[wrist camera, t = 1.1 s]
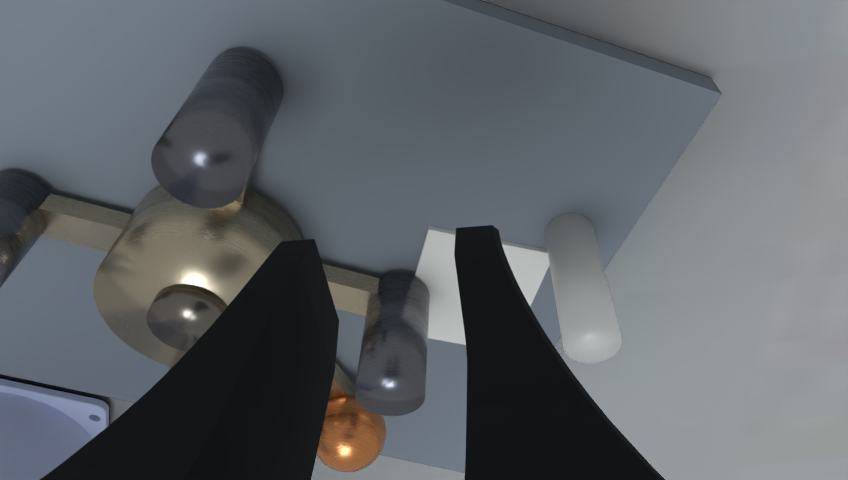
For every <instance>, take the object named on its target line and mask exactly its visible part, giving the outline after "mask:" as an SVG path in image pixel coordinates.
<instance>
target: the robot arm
mask: <svg viewBox="0 0 848 480" xmlns="http://www.w3.org/2000/svg"><path fill="white" fill-rule="evenodd" d="M454 257H455V264H456V272H457V279H458V287H459V294H460V302H461V310H462V317H463V325H464V332H465V340H466V352H467V414H466V459H465V480H665V479H664V478H663V477H662V476H661V475H660V474H659V473H658V472H657V471H656V470H655V469H654V468H653V467H652V466H651V465H650V464H649V463H648V462H647V460H646V459H645V458H644V457H643V456H642V455H641V454H640V453H639V452H638V451H637V450H636V449H635V447H634V446H633V445H632V444H631V443H630V442H629V441H628V440H627V439H626V438H625V437H624V435H623V434H622V433H621V432H620V431H619V430H618V429H617V428H616V427H615V426H614V425H613V423H612V422H611V421H610V420H609V419H608V418H607V416H606V415H605V414H604V413H603V411H602V410H601V409H600V408H599V407H598V405H597V404H596V403H595V402H594V400H593V399H592V398H591V397H590V396H589V394H588V393H587V392H586V390H585V389H584V388H583V386H582V385H581V384H580V382H579V381H578V380H577V379H576V377H575V376H574V375H573V373H572V372H571V370H570V369H569V368H568V366H567V365H566V363H565V362H564V360H563V359H562V358H561V356H560V355H559V353H558V352H557V350H556V349H555V347H554V346H553V344H552V342H551V341H550V339H549V338H548V336H547V335H546V333H545V332H544V330H543V328H542V327H541V325H540V323H539V322H538V320H537V318H536V317H535V315H534V313H533V311H532V309H531V307H530V306H529V304H528V302H527V300H526V298H525V296H524V295H523V293H522V291H521V289H520V287H519V285H518V283H517V281H516V279H515V277H514V274H513V272H512V270H511V267H510V265H509V263H508V260H507V258H506V255H505V252H504V249H503V246H502V243H501V239H500V234H499V230H498V229H497V228H495V227H494V226H493V225H487V226H474V227H461V228H456V235H455V250H454ZM338 329H339V319H338V315H337V312H336V309H335V305H334V302H333V299H332V295H331V292H330V289H329V285H328V282H327V279H326V275H325V272H324V269H323V265H322V262H321V259H320V255H319V252H318V249H317V245H316V242H315V239H307V240H294V241H281V242H280V243H279V245H278V246H277V247H276V248H275V249H274V250H273V252H272V253H271V254H270V255H269V256H268V258H267V259H266V260H265V261H264V263H263V264H262V265H261V266H260V267H259V269H258V270H257V271H256V272H255V274H254V275H253V276H252V277H251V279H250V280H249V281H248V282H247V283H246V285H245V286H244V287H243V288H242V290H241V291H240V292H239V293H238V295H237V296H236V297H235V298H234V299H233V301H232V302H231V303H230V304H229V305H228V306H227V308H226V309H225V310H224V311H223V312H222V313H221V315H220V316H219V317H218V318H217V319H216V321H215V322H214V323H213V324H212V325H211V326H210V328H209V329H208V330H207V331H206V332H205V333H204V334H203V335H202V336H201V337H200V338H199V340H198V341H197V342H196V343H195V344H194V345H193V346H192V347H191V348H190V349H189V350H188V351H187V352H186V353H185V355H184V356H183V357H182V358H181V359H180V360H179V361H178V362H177V363H176V364H175V365H174V366H173V367H172V368H171V369H170V370H169V371H168V372H167V373H166V374H165V375H164V376H163V377H162V378H161V379H160V380H159V381H158V382H157V383H156V384H155V385H154V386H153V387H152V388H151V389H150V390H149V391H148V392H147V393H145V394H144V395H143V396H142V397H141V398H140V399H139V400H138V401H137V402H136V403H134V404H133V405H132V406H131V407H130V408H129V409H128V410H127V411H126V412H124V413H123V414H122V415H121V416H120V417H119V418H118V419H116V420H115V421H114V422H113V423H112V424H110V425H109V406H108V404H107V403H106V402H104V401H102V400H99V399H95V398H91V397H86V396H81V395H77V394H72V393H67V392H62V391H58V390H53V389H48V388H43V387H39V386H34V385H29V384H25V383H20V382H15V381H10V380H6V379H1V378H0V480H311V476H312V472H313V467H314V463H315V458H316V454H317V450H318V445H319V441H320V436H321V432H322V427H323V423H324V419H325V414H326V410H327V405H328V401H329V396H330V391H331V387H332V382H333V377H334V373H335V363H336V353H337V342H338Z"/></svg>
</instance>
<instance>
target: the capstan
mask: <svg viewBox="0 0 848 480" xmlns="http://www.w3.org/2000/svg"><path fill="white" fill-rule="evenodd" d="M283 95H284V88H283V83H282V79H281V77H280V75H279V73H278V72H277V70H276V69H275V68H274V66H273V65H272V64H271V63H270V62H269V61H267V60H266V59H265V58H263V57H262V56H260V55H258V54H256V53H253V52H251V51H247V50H230V51H226V52H224V53H221V54H220V55H218V56H217V57H216V58H215V59H214V60H213V61H212V62H211V64H210V65H209V66H208V68H207V69H206V71H205V72H204V74H203V75H202V77H201V78H200V80H199V81H198V83H197V84H196V86H195V87H194V88H193V90H192V91H191V93H190V94H189V96H188V97H187V99H186V100H185V102H184V103H183V105H182V106H181V108H180V109H179V111H178V112H177V113H176V115H175V116H174V118H173V119H172V121H171V122H170V124H169V125H168V127H167V128H166V130H165V131H164V133H163V134H162V136H161V137H160V138H159V140H158V141H157V143H156V144H155V146H154V148H153V151H152V155H151V165H152V169H153V172H154V175H155V177H156V179H157V180H158V182H159V183H160V184H161V186H160V187H158V188H156V189H154V190H153V191H151V192H150V193H149V194H148V195H146V196H145V197H144V198H143V200H142V201H141V202H140V203H139V204H138V206H137V208H136V209H135V211H134V212H133V214H128V213H125V212H121V211H117V210H113V209H109V208H105V207H101V206H97V205H94V204H90V203H86V202H82V201H78V200H74V199H70V198H66V197H63V196H59V195H55V194H51V193H50V192H49V191H48V190H47V189H46V188H45V187H44V186H43V185H42V184H40V183H39V182H38V181H36V180H34V179H32V178H31V177H28V176H26V175H23V174H20V173H14V172H3V173H0V288H1V286H2V285H3V284H4V282H5V281H6V280H7V279H8V277H9V276H10V275H11V274H12V272H13V271H14V270H15V268H16V267H17V266H18V265H19V263H20V262H21V261H22V259H23V258H24V257H25V256H26V254H27V253H28V252H29V250H30V249H31V248H32V247H33V245H34V244H35V243H36V241H37V240H38V239H39V238H40V236H44V237H48V238H52V239H56V240H60V241H64V242H68V243H72V244H76V245H80V246H84V247H88V248H92V249H96V250H100V251H104V252H108V253H107V255H106V257H105V258H104V260H103V261H102V263H101V265H100V266H99V268H98V270H97V272H96V275H95V278H94V285H93V292H94V299H95V302H96V306H97V308H98V310H99V313H100V315H101V316H102V318H103V320H104V321H105V323H106V324H107V325H108V326H109V328H110V329H111V330H112V331H113V332H114V333H115V334H116V335H117V336H118V337H119V338H120V339H121V340H122V341H123V342H125V343H126V344H127V345H128V346H130V347H131V348H133V349H134V350H136V351H137V352H139V353H140V354H142V355H144V356H146V357H148V358H150V359H152V360H154V361H156V362H158V363H161V364H163V365H166V366H169V367H170V369H171V368H172V367H173V366H174V365H175V364H176V363H177V362H178V361H179V360H180V359H181V358H182V357H183V356H184V355H185V353H186V352H187V351H188V350H189V349H190V348H191V347H192V346H193V345H194V344H195V343H196V342H197V341H198V340H199V338H200V337H201V336H202V335H203V334H204V333H205V332H206V331H207V330H208V329H209V328H210V326H211V325H212V324H213V323H214V322H215V321H216V319H217V318H218V317H219V316H220V315H221V313H222V312H223V311H224V310H225V309H226V308H227V306H228V305H229V304H230V303H231V302H232V301H233V299H234V298H235V297H236V296H237V295H238V293H239V292H240V291H241V290H242V288H243V287H244V286H245V285H246V283H247V282H248V281H249V280H250V279H251V277H252V276H253V275H254V274H255V272H256V271H257V270H258V269H259V267H260V266H261V265H262V264H263V263H264V261H265V260H266V259H267V258H268V256H269V255H270V254H271V253H272V252H273V250H274V249H275V248H276V247H277V246H278V245H279V243H280V242H281V241H294V240H302V238H301V236H300V234H299V232H298V230H297V228H296V227H295V226H294V224H293V223H292V221H291V220H290V219H289V218H288V217H287V216H286V214H285V213H284V212H283V211H282V210H280V209H279V208H278V207H277V206H276V205H275V204H273V203H272V202H271V201H269V200H268V199H266V198H265V197H263V196H261V195H260V194H258V193H256V192H254V191H252V190H250V189H249V185H250V179H251V173H252V169H253V167H254V165H255V163H256V160H257V158H258V156H259V153H260V151H261V149H262V147H263V144H264V142H265V140H266V137H267V135H268V133H269V131H270V128H271V126H272V124H273V121H274V119H275V117H276V114H277V112H278V110H279V108H280V105H281V103H282V100H283ZM322 265H323V269H324V272H325V275H326V279H327V282H328V285H329V289H330V292H331V295H332V299H333V302H334V305H335V309H339V310H343V311H347V312H351V313H355V314H359V315H363V316H366V317H365V324H364V331H363V337H362V344H361V351H360V358H359V364H358V371H357V378H356V384H354V383H353V382H352V381H351V380H350V378H349V377H348V376H347V375H346V374H345V373H344V372H343V371H342V369H341V368H340V367H339V366H338V365H337V364H336V363H335V373H334V377H333V382H332V387H331V391H330V396H329V401H328V405H327V410H326V414H325V419H324V423H323V427H322V432H321V436H320V441H319V445H318V450H317V454H316V455H317V456H318V458H319V459H320V460H321V461H322V462H323V463H324V464H325V465H327V466H328V467H330V468H332V469H334V470H337V471H340V472H354V471H358V470H361V469H363V468H365V467H367V466H369V465H370V464H371V463H373V462H374V461H375V460H376V458H377V457H378V456H379V454H380V453H381V451H382V449H383V447H384V444H385V440H386V424H385V420H384V417H383V415H384V416H401V415H406V414H409V413H412V412H414V411H415V410H417V409H418V408H420V406H421V405H422V404H423V402H424V400H425V390H426V368H427V346H428V324H429V303H430V294H429V291H428V288H427V287H426V285H425V284H424V283H423V282H422V281H420V280H419V279H417V278H415V277H413V276H410V275H407V274H389V275H385V276H383V277H381V278H377V277H373V276H369V275H365V274H361V273H357V272H353V271H349V270H346V269H342V268H338V267H334V266H330V265H326V264H322ZM170 369H169V370H170Z"/></svg>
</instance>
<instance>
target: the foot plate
mask: <svg viewBox="0 0 848 480" xmlns="http://www.w3.org/2000/svg"><path fill="white" fill-rule="evenodd" d="M230 50H247V51H251V52H253V53H256V54H258V55H260V56H262V57H263V58H265V59H266V60H267V61H269V62H270V63H271V64H272V65H273V66H274V68H275V69H276V70H277V72H278V73H279V75H280V77H281V79H282V83H283V88H284V95H283V100H282V103H281V105H280V108H279V110H278V112H277V114H276V117H275V119H274V121H273V124H272V126H271V128H270V131H269V133H268V135H267V137H266V140H265V142H264V144H263V147H262V149H261V151H260V153H259V156H258V158H257V160H256V163H255V165H254V167H253V169H252V173H251V179H250V185H249V189H250V190H252V191H254V192H256V193H258V194H260V195H261V196H263V197H265V198H266V199H268V200H269V201H271V202H272V203H273V204H275V205H276V206H277V207H278V208H279V209H280V210H282V211H283V212H284V213H285V214H286V216H287V217H288V218H289V219H290V220H291V221H292V223H293V224H294V226H295V227H296V228H297V230H298V232H299V234H300V236H301V238H302V240H307V239H315V242H316V245H317V249H318V252H319V255H320V259H321V262H322V264H326V265H330V266H334V267H338V268H342V269H346V270H349V271H353V272H357V273H361V274H365V275H369V276H373V277H377V278H381V277H383V276H385V275H389V274H407V275H410V276H413V277H414V275H415V272H416V268H417V265H418V262H419V258H420V255H421V251H422V248H423V244H424V241H425V238H426V234H427V231H428V227H429V226H432V227H437V228H442V229H447V230H452V231H456V228H461V227H474V226H487V225H493V226H494V227H495V228H497V229H498V230H499V234H500V239H501V240H502V241H507V242H512V243H517V244H522V245H527V246H532V247H537V248H542V249H547V245H546V239H545V229H546V227H547V225H548V224H549V222H550V221H551V220H552V219H554V218H555V217H557V216H559V215H562V214H566V213H577V214H581V215H583V216H585V217H586V218H588V219H589V220H590V221H591V223H592V226H593V229H594V233H595V237H596V241H597V245H598V249H599V252H600V256H601V260H602V264H603V268H604V270H605V269H606V267H607V266H608V264H609V263H610V261H611V260H612V258H613V257H614V255H615V254H616V252H617V251H618V249H619V248H620V246H621V245H622V243H623V242H624V240H625V239H626V237H627V236H628V234H629V233H630V231H631V230H632V228H633V227H634V225H635V224H636V222H637V221H638V219H639V218H640V216H641V215H642V213H643V212H644V210H645V209H646V207H647V206H648V204H649V203H650V201H651V200H652V198H653V197H654V195H655V194H656V192H657V191H658V189H659V188H660V186H661V185H662V183H663V182H664V180H665V179H666V177H667V176H668V174H669V173H670V171H671V170H672V168H673V167H674V165H675V164H676V162H677V161H678V159H679V158H680V156H681V155H682V153H683V152H684V150H685V149H686V147H687V146H688V144H689V143H690V141H691V140H692V138H693V137H694V135H695V133H696V132H697V130H698V129H699V127H700V126H701V124H702V123H703V121H704V120H705V118H706V117H707V115H708V114H709V112H710V111H711V109H712V108H713V106H714V105H715V103H716V102H717V100H718V99H719V97H720V96H721V94H722V93H721V92H720V90H719V89H718V87H717V86H716V84H715V83H714V81H713V80H712V78H709V77H706V76H703V75H700V74H697V73H694V72H691V71H688V70H685V69H682V68H679V67H676V66H673V65H670V64H667V63H665V62H662V61H659V60H656V59H653V58H650V57H647V56H644V55H641V54H638V53H635V52H632V51H629V50H626V49H623V48H620V47H617V46H614V45H611V44H608V43H605V42H602V41H599V40H596V39H593V38H590V37H587V36H585V35H582V34H579V33H576V32H573V31H570V30H567V29H564V28H561V27H558V26H555V25H552V24H549V23H546V22H543V21H540V20H537V19H534V18H531V17H528V16H525V15H522V14H519V13H516V12H513V11H510V10H507V9H505V8H502V7H499V6H496V5H493V4H490V3H487V2H484V1H481V0H0V173H3V172H14V173H20V174H23V175H26V176H28V177H31V178H32V179H34V180H36V181H38V182H39V183H40V184H42V185H43V186H44V187H45V188H46V189H47V190H48V191H49V192H50V193H51V194H55V195H59V196H63V197H66V198H70V199H74V200H78V201H82V202H86V203H90V204H94V205H97V206H101V207H105V208H109V209H113V210H117V211H121V212H125V213H128V214H133V212H134V211H135V209H136V208H137V206H138V204H139V203H140V202H141V201H142V200H143V198H144V197H145V196H146V195H148V194H149V193H150V192H151V191H153V190H154V189H156V188H158V187H160V186H161V184H160V183H159V182H158V180H157V179H156V177H155V175H154V172H153V169H152V165H151V155H152V151H153V148H154V146H155V144H156V143H157V141H158V140H159V138H160V137H161V136H162V134H163V133H164V131H165V130H166V128H167V127H168V125H169V124H170V122H171V121H172V119H173V118H174V116H175V115H176V113H177V112H178V111H179V109H180V108H181V106H182V105H183V103H184V102H185V100H186V99H187V97H188V96H189V94H190V93H191V91H192V90H193V88H194V87H195V86H196V84H197V83H198V81H199V80H200V78H201V77H202V75H203V74H204V72H205V71H206V69H207V68H208V66H209V65H210V64H211V62H212V61H213V60H214V59H215V58H216V57H217V56H218V55H220V54H221V53H224V52H226V51H230ZM107 253H108V252H104V251H100V250H96V249H92V248H88V247H84V246H80V245H76V244H72V243H68V242H64V241H60V240H56V239H52V238H48V237H44V236H40V238H39V239H38V240H37V241H36V243H35V244H34V245H33V247H32V248H31V249H30V250H29V252H28V253H27V254H26V256H25V257H24V258H23V259H22V261H21V262H20V263H19V265H18V266H17V267H16V268H15V270H14V271H13V272H12V274H11V275H10V276H9V277H8V279H7V280H6V281H5V282H4V284H3V285H2V286H1V288H0V374H2V375H7V376H12V377H16V378H21V379H26V380H30V381H35V382H40V383H44V384H49V385H54V386H59V387H63V388H68V389H73V390H77V391H82V392H87V393H91V394H96V395H101V396H105V397H110V398H115V399H120V400H124V401H129V402H134V403H136V402H137V401H138V400H139V399H140V398H141V397H142V396H143V395H144V394H145V393H147V392H148V391H149V390H150V389H151V388H152V387H153V386H154V385H155V384H156V383H157V382H158V381H159V380H160V379H161V378H162V377H163V376H164V375H165V374H166V373H167V372H168V371H169V369H170V367H169V366H166V365H163V364H161V363H158V362H156V361H154V360H152V359H150V358H148V357H146V356H144V355H142V354H140V353H139V352H137V351H136V350H134V349H133V348H131V347H130V346H128V345H127V344H126V343H125V342H123V341H122V340H121V339H120V338H119V337H118V336H117V335H116V334H115V333H114V332H113V331H112V330H111V329H110V328H109V326H108V325H107V324H106V323H105V321H104V320H103V318H102V316H101V315H100V313H99V310H98V308H97V306H96V302H95V299H94V292H93V285H94V278H95V275H96V272H97V270H98V268H99V266H100V265H101V263H102V261H103V260H104V258H105V257H106V255H107ZM530 307H531V309H532V311H533V313H534V315H535V317H536V318H537V320H538V322H539V323H540V325H541V327H542V328H543V330H544V332H545V333H546V335H547V336H548V338H549V339H550V341H551V342H552V344H553V346H554V345H555V344H556V342H557V341H558V339H559V338H560V336H561V331H560V325H559V318H558V312H557V306H556V300H555V294H554V288H553V282H552V276H551V270H550V265H549V267H548V269H547V271H546V274H545V276H544V278H543V280H542V282H541V284H540V287H539V289H538V291H537V293H536V295H535V297H534V300H533V302H532V304H531V306H530ZM336 312H337V315H338V319H339V329H338V342H337V353H336V364H337V365H338V366H339V367H340V368H341V369H342V371H343V372H344V373H345V374H346V375H347V376H348V377H349V378H350V380H351V381H352V382H353V383H354V384H356V378H357V371H358V364H359V358H360V351H361V344H362V337H363V331H364V324H365V317H366V316H363V315H359V314H355V313H351V312H347V311H343V310H339V309H336ZM466 414H467V352H466V345H463V344H457V343H452V342H446V341H441V340H435V339H430V338H428V346H427V368H426V390H425V400H424V402H423V404H422V405H421V406H420V408H418V409H417V410H415V411H414V412H412V413H409V414H406V415H401V416H384V415H383V417H384V420H385V424H386V440H385V444H384V447H383V449H382V451H381V453H380V454H379V455H382V456H387V457H392V458H397V459H401V460H406V461H411V462H415V463H420V464H425V465H429V466H434V467H439V468H443V469H448V470H453V471H458V472H462V473H465V459H466Z"/></svg>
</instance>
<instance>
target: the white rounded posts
mask: <svg viewBox="0 0 848 480" xmlns="http://www.w3.org/2000/svg"><path fill="white" fill-rule="evenodd" d="M455 235H456V231H452V230H447V229H442V228H437V227H432V226H429V227H428V231H427V234H426V238H425V241H424V244H423V248H422V251H421V255H420V258H419V262H418V265H417V268H416V272H415V275H414V277H415V278H417V279H419V280H420V281H422V282H423V283H424V284H425V285H426V287H427V288H428V291H429V294H430V303H429V324H428V338H430V339H435V340H441V341H446V342H452V343H457V344H463V345H466V340H465V332H464V325H463V317H462V310H461V302H460V294H459V287H458V279H457V272H456V264H455V257H454V250H455ZM545 239H546V245H547V249H542V248H537V247H532V246H527V245H522V244H517V243H512V242H507V241H502V240H501V243H502V246H503V249H504V252H505V255H506V258H507V260H508V263H509V265H510V267H511V270H512V272H513V274H514V277H515V279H516V281H517V283H518V285H519V287H520V289H521V291H522V293H523V295H524V296H525V298H526V300H527V302H528V304H529V306H531V304H532V302H533V300H534V297H535V295H536V293H537V291H538V289H539V287H540V284H541V282H542V280H543V278H544V276H545V274H546V271H547V269H548V267H549V265H550V270H551V276H552V282H553V288H554V294H555V300H556V306H557V312H558V318H559V325H560V331H561V337H562V343H563V349H564V352H565V353H566V355H567V356H568V357H569V358H571V359H573V360H575V361H577V362H581V363H598V362H602V361H605V360H607V359H609V358H611V357H613V356H614V355H615V354H616V353H617V352H618V351H619V350H620V348H621V345H622V338H621V334H620V330H619V326H618V322H617V318H616V314H615V310H614V307H613V303H612V299H611V295H610V291H609V287H608V283H607V280H606V276H605V272H604V268H603V264H602V260H601V256H600V252H599V249H598V245H597V241H596V237H595V233H594V229H593V226H592V223H591V221H590V220H589V219H588V218H586V217H585V216H583V215H581V214H577V213H566V214H562V215H559V216H557V217H555V218H554V219H552V220H551V221H550V222H549V224H548V225H547V227H546V229H545Z"/></svg>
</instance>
